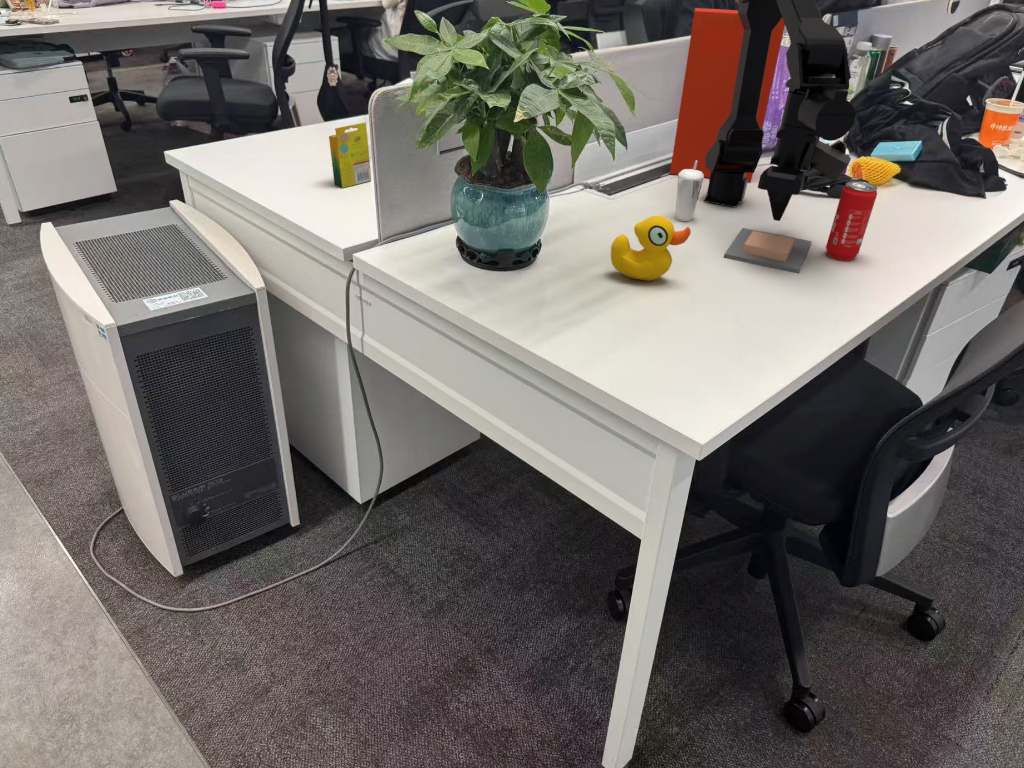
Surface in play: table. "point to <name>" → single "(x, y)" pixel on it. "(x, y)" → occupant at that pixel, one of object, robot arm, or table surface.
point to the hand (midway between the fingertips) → (777, 219)
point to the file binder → (714, 84)
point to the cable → (827, 183)
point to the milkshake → (688, 193)
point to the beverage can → (851, 220)
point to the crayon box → (350, 156)
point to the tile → (768, 246)
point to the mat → (791, 263)
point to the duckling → (647, 249)
